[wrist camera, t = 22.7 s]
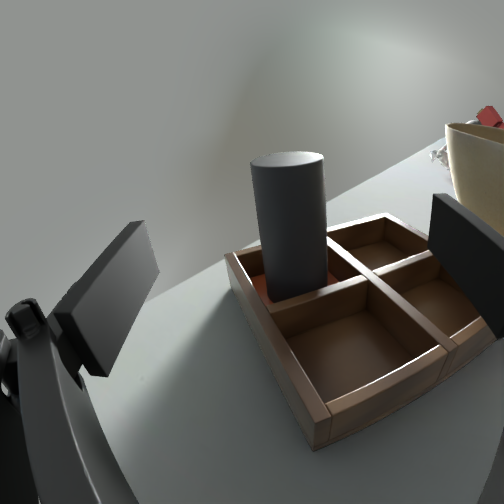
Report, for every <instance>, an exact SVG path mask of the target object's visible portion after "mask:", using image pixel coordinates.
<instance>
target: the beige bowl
mask: <svg viewBox="0 0 504 504" xmlns="http://www.w3.org/2000/svg"><path fill="white" fill-rule="evenodd" d="M445 129H446V143H447V152H448V159H449V165H450V171H451V176H452V181H453V185H454V189H455V193H456V197H457V200H458V202H459V203H460V204H462V205H463V206H465V207H466V208H467V209H469V210H470V211H471V212H473V213H474V214H475V215H477V216H478V217H479V218H481V219H482V220H483V221H485V222H486V223H487V224H488V225H490V226H491V227H492V228H493V229H495V230H496V231H497V232H498V233H500V234H501V235H502V236H503V237H504V129H501V128H496V127H490V126H484V125H476V124H467V123H448V124H446V125H445Z"/></svg>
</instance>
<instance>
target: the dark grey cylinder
mask: <svg viewBox="0 0 504 504" xmlns="http://www.w3.org/2000/svg"><path fill="white" fill-rule="evenodd" d="M250 166H251V173H252V181H253V188H254V196H255V203H256V211H257V218H258V226H259V233H260V241H261V249H262V256H263V264H264V272H265V280H266V287H267V294H268V297H269V299H270V300H271V301H272V302H273V303H277V302H280V301H284V300H287V299H290V298H293V297H296V296H300V295H303V294H306V293H309V292H312V291H315V290H318V289H321V288H324V287H327V286H328V267H327V218H326V197H325V196H326V194H325V175H324V160H323V156H322V155H320V154H317V153H312V152H283V153H275V154H269V155H265V156H261V157H258V158H256V159H254V160H252V161H251V162H250Z"/></svg>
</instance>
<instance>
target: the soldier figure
mask: <svg viewBox="0 0 504 504" xmlns="http://www.w3.org/2000/svg"><path fill="white" fill-rule="evenodd" d="M446 150H447V144H446V145H445V146H444V147H442V149H440V150H439V151H432V152H430V157H431V160H432V163H433V161H434V160H435V159H436V157H437V158H438V159H439V161H440V163H441V165H443V166H444V167H445V168H447V170H449V171H450V165H449V159H448V153H446V152H445V151H446ZM437 153H438V154H437Z"/></svg>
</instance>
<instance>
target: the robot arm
mask: <svg viewBox="0 0 504 504" xmlns="http://www.w3.org/2000/svg"><path fill="white" fill-rule="evenodd" d="M427 248H428V249H429V250H430V252H431V253H432V254H433V255H434V256H435V257H436V259H437V260H438V261H439V262H440V263H441V265H442V266H443V267H444V268H445V269H446V271H447V272H448V273H449V274H450V276H451V277H452V278H453V279H454V281H455V282H456V283H457V284H458V286H459V287H460V288H461V290H462V291H463V292H464V294H465V295H466V296H467V297H468V299H469V300H470V302H471V303H472V304H473V306H474V307H475V308H476V310H477V311H478V312H479V314H480V315H481V317H482V318H483V319H484V321H485V322H486V324H487V325H488V327H489V328H490V330H491V331H492V333H493V334H494V336H495V337H496V339H497V340H498V339H501V338H504V237H503V236H502V235H501V234H500V233H498V232H497V231H496V230H495V229H493V228H492V227H491V226H490V225H488V224H487V223H486V222H485V221H483V220H482V219H481V218H479V217H478V216H477V215H475V214H474V213H473V212H471V211H470V210H469V209H467V208H466V207H465V206H463V205H462V204H460V203H459V202H458V201H456V200H455V199H453V198H452V197H451V196H449V195H448V194H446V193H444V194H433V200H432V211H431V220H430V229H429V237H428V244H427ZM159 273H160V272H159V269H158V265H157V262H156V258H155V255H154V252H153V248H152V245H151V241H150V238H149V234H148V231H147V227H146V224H145V221H144V220H142V221H135V222H130V223H129V224H128V225H127V226H126V227H125V228H124V229H123V230H122V231H121V233H120V234H119V235H118V236H117V237H116V238H115V239H114V240H113V241H112V242H111V243H110V245H109V246H108V247H107V248H106V249H105V250H104V251H103V253H102V254H101V255H100V256H99V257H98V258H97V259H96V261H95V262H94V263H93V264H92V265H91V266H90V268H89V269H88V270H87V271H86V272H85V273H84V275H83V276H82V277H81V278H80V279H79V280H78V281H77V282H75V283H74V284H73V285H72V286H71V288H70V289H69V290H68V291H67V294H65V295H64V296H63V297H62V300H61V301H59V303H58V304H57V305H56V306H55V308H54V309H53V311H52V312H51V313H50V314H49V315H48V317H47V318H45V316H44V314H43V312H42V311H41V309H40V307H39V305H38V303H37V301H36V299H33V298H29V299H25V300H22V301H20V302H19V303H17V304H15V305H14V306H13V307H12V308H11V309H10V310H9V311H8V312H7V314H6V316H5V320H6V321H7V323H8V325H9V326H10V328H11V330H12V331H13V333H14V334H15V336H16V338H15V339H11V340H8V338H7V337H6V335H5V334H4V332H3V331H2V330H0V504H39V500H40V503H41V504H139V502H138V500H137V499H136V497H135V495H134V493H133V492H132V490H131V488H130V486H129V484H128V483H127V481H126V479H125V477H124V475H123V473H122V471H121V469H120V467H119V465H118V463H117V461H116V459H115V457H114V455H113V453H112V451H111V448H110V446H109V444H108V442H107V440H106V437H105V435H104V433H103V430H102V428H101V425H100V423H99V421H98V418H97V416H96V413H95V410H94V408H93V405H92V403H91V400H90V397H89V394H88V391H87V389H86V386H85V383H84V380H83V378H82V376H81V375H80V373H79V372H78V371H79V369H80V367H81V366H82V364H83V365H84V367H85V368H86V370H87V371H88V373H89V374H90V375H91V376H100V377H108V376H109V374H110V372H111V369H112V367H113V365H114V363H115V361H116V359H117V356H118V354H119V352H120V350H121V348H122V346H123V344H124V342H125V339H126V337H127V335H128V333H129V331H130V329H131V327H132V325H133V323H134V321H135V319H136V317H137V315H138V313H139V311H140V309H141V307H142V305H143V303H144V301H145V299H146V297H147V295H148V293H149V291H150V289H151V288H152V286H153V284H154V282H155V280H156V278H157V276H158V274H159ZM1 382H2V383H3V384H4V386H5V387H6V388H7V389H8V395H7V396H6V395H5V394H4V393H3V391H2V389H1ZM38 496H39V499H38ZM477 504H504V428H503V432H502V436H501V439H500V443H499V446H498V449H497V453H496V456H495V459H494V462H493V465H492V468H491V470H490V473H489V476H488V479H487V481H486V484H485V486H484V489H483V491H482V494H481V496H480V498H479V501H478V503H477Z"/></svg>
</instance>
